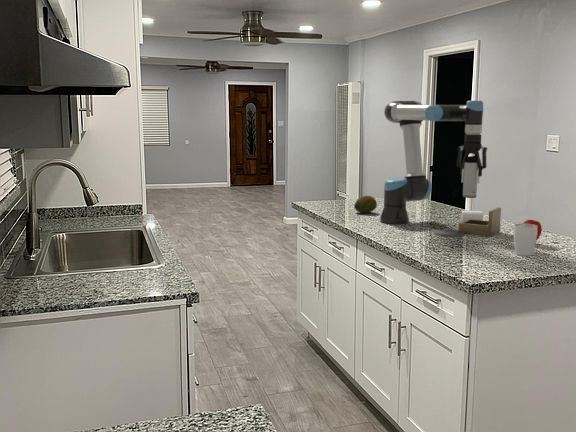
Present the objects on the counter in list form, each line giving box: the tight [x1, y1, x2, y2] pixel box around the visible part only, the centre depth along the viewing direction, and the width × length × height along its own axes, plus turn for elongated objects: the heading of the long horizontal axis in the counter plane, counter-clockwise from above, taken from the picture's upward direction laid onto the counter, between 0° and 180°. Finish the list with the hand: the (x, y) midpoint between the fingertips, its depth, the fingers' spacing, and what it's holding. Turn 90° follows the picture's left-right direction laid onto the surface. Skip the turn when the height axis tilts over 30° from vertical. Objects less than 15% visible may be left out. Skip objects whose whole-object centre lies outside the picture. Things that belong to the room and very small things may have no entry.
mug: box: [460, 210, 484, 222], centre depth 299 cm, size 12×10×8 cm
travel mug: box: [462, 155, 478, 199], centre depth 275 cm, size 6×7×20 cm
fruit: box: [353, 195, 378, 214], centre depth 339 cm, size 12×12×10 cm
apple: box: [522, 219, 543, 241], centre depth 255 cm, size 9×8×11 cm
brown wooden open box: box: [458, 207, 502, 238], centre depth 279 cm, size 16×14×12 cm
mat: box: [433, 229, 466, 238], centre depth 278 cm, size 14×14×1 cm
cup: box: [513, 223, 537, 257], centre depth 235 cm, size 9×9×12 cm
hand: (470, 182), depth 276 cm, fingers closed on travel mug, 6 cm apart
